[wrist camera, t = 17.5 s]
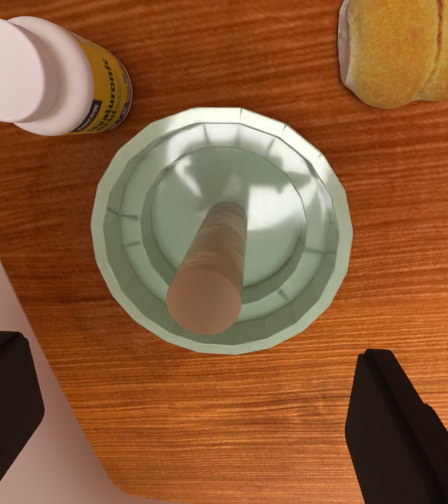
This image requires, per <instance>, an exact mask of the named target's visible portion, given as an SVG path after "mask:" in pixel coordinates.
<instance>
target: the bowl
mask: <svg viewBox="0 0 448 504" xmlns="http://www.w3.org/2000/svg"><path fill="white" fill-rule="evenodd" d="M220 202H232V203H235V204H237V205H239V206H240V207H241V208H242V209H243V210H244V212H245V213H246V216H247V219H248V227H247V240H246V253H245V266H244V279H243V292H242V305H241V311H240V314H239V316H238V318H237V320H236V321H235V322H234V324H232V325H231V326H230V327H229V328H228V329H226V330H224V331H222V332H219V333H216V334H210V335H203V334H197V333H193V332H190V331H188V330H186V329H184V328H183V327H181V326H180V325H179V324H178V323H177V322H176V321H175V320H174V319H173V318H172V316H171V314H170V312H169V310H168V307H167V301H166V296H167V291H168V288H169V286H170V284H171V282H172V280H173V278H174V276H175V274H176V272H177V270H178V268H179V266H180V264H181V263H182V261H183V259H184V257H185V255H186V253H187V251H188V249H189V247H190V245H191V243H192V241H193V239H194V238H195V236H196V234H197V232H198V230H199V228H200V226H201V224H202V222H203V220H204V218H205V216H206V214H207V212H208V211H209V209H210V208H211V207H212V206H214V205H215V204H217V203H220ZM91 232H92V239H93V246H94V253H95V259H96V263H97V265H98V267H99V269H100V271H101V273H102V275H103V278H104V280H105V282H106V284H107V286H108V288H109V290H110V292H111V294H112V296H113V297H114V298H115V299H116V300H117V301H118V303H119V304H120V305H121V306H122V307H123V308H124V309H125V310H126V312H127V313H128V314H129V315H130V316H131V317H132V318H133V319H134V321H136V322H137V323H138V324H140V325H141V326H143V327H145V328H146V329H148V330H149V331H151V332H152V333H154V334H155V335H157V336H158V337H160V338H161V339H163V340H165V341H166V342H169V343H172V344H175V345H178V346H181V347H184V348H187V349H190V350H193V351H196V352H199V353H200V352H201V353H215V354H231V355H235V354H236V355H238V354H243V353H248V352H253V351H258V350H262V349H267V348H271V347H273V346H275V345H277V344H279V343H281V342H283V341H285V340H287V339H289V338H291V337H293V336H295V335H296V334H298V333H300V332H302V331H304V330H305V329H306V328H307V327H308V326H309V325H310V324H311V323H312V322H313V321H314V320H315V319H316V318H317V317H318V316H319V315H320V314H321V313H322V312H323V311H325V310H326V309H327V308H328V307H329V305H330V304H331V302H332V300H333V298H334V296H335V294H336V292H337V291H338V289H339V287H340V285H341V283H342V281H343V279H344V277H345V275H346V274H347V270H348V264H349V257H350V251H351V244H352V238H353V228H352V223H351V218H350V213H349V207H348V202H347V197H346V192H345V190H344V188H343V186H342V185H341V183H340V181H339V180H338V178H337V176H336V175H335V173H334V171H333V170H332V168H331V166H330V165H329V163H328V161H327V160H326V158H325V156H324V155H323V154H322V153H321V151H319V150H318V149H317V148H316V147H315V146H313V145H312V144H311V143H310V142H308V141H307V140H306V139H305V138H304V137H302V136H301V135H300V134H299V133H297V132H296V131H295V130H294V129H293V128H291V127H290V126H289V125H287V124H285V123H284V122H281V121H278V120H275V119H273V118H270V117H267V116H264V115H262V114H259V113H256V112H253V111H251V110H248V109H245V108H241V107H195V108H190V109H187V110H185V111H182V112H179V113H176V114H173V115H171V116H168V117H165V118H162V119H159V120H157V121H154V122H152V123H150V124H149V125H147V126H146V127H145V128H144V129H143V130H141V131H140V132H139V133H138V134H137V135H135V136H134V137H133V138H132V139H131V140H129V141H128V142H127V143H126V144H125V145H123V146H122V147H121V148H120V149H119V150H118V151H117V152H116V154H115V156H114V158H113V159H112V161H111V163H110V165H109V166H108V168H107V170H106V171H105V173H104V175H103V177H102V178H101V180H100V182H99V184H98V187H97V191H96V197H95V202H94V207H93V213H92V218H91Z"/></svg>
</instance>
